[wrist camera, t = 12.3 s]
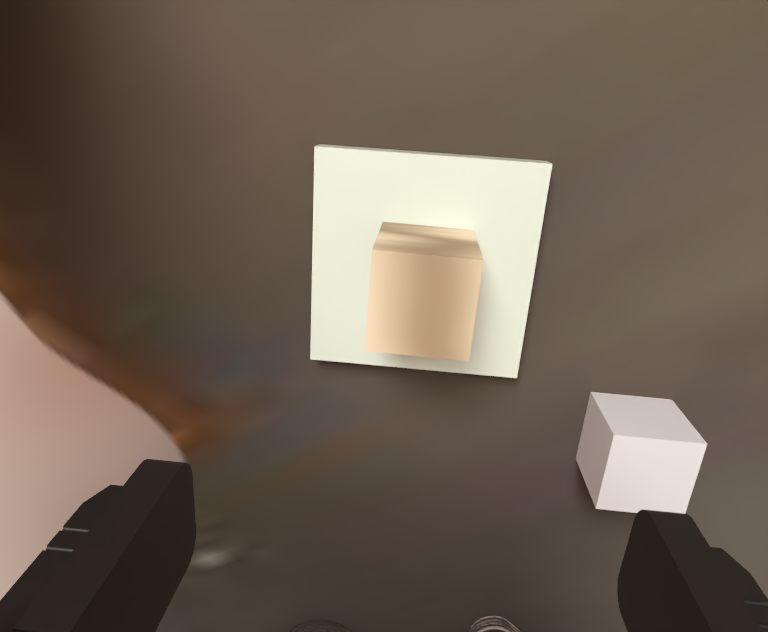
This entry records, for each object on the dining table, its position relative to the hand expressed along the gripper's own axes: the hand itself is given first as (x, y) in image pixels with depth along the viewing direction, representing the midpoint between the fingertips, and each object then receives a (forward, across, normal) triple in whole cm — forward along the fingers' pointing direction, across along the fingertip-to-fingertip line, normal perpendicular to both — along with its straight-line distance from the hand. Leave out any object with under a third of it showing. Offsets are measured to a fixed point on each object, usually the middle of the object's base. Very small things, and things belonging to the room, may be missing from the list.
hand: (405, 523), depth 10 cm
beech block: (+17, 0, 0) cm, 17 cm away
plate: (+18, 0, 0) cm, 18 cm away
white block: (+18, -11, +8) cm, 23 cm away
